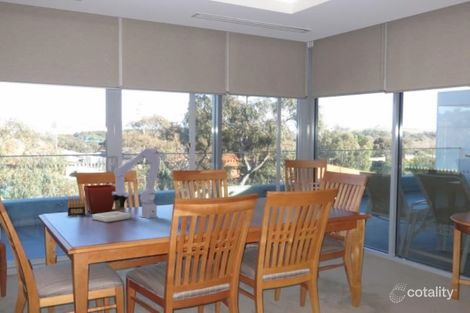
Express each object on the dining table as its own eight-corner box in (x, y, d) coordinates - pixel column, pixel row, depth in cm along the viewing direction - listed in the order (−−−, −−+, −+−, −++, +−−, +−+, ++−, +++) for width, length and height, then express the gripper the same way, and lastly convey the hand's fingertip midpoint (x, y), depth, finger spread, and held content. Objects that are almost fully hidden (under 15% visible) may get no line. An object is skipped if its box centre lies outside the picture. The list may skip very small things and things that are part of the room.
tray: (130, 218, 284) (130, 213, 284) (106, 222, 270) (106, 217, 270) (117, 215, 293) (117, 210, 293) (92, 219, 279) (92, 214, 279)
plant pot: (83, 209, 314) (83, 185, 313) (111, 207, 322) (111, 184, 322) (87, 214, 297) (87, 188, 296) (117, 212, 305) (117, 187, 305)
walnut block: (124, 209, 296) (124, 200, 296) (119, 210, 293) (119, 200, 292) (120, 208, 298) (120, 199, 298) (115, 209, 295) (115, 200, 295)
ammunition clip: (67, 215, 291) (67, 196, 290) (67, 214, 293) (67, 196, 292) (85, 214, 295) (85, 196, 294) (85, 214, 296) (85, 195, 296)
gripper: (108, 185, 296) (108, 206, 297) (121, 187, 287) (121, 208, 288) (117, 184, 302) (117, 205, 302) (130, 186, 293) (130, 207, 293)
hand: (119, 206), depth 295 cm, fingers closed on walnut block, 4 cm apart
